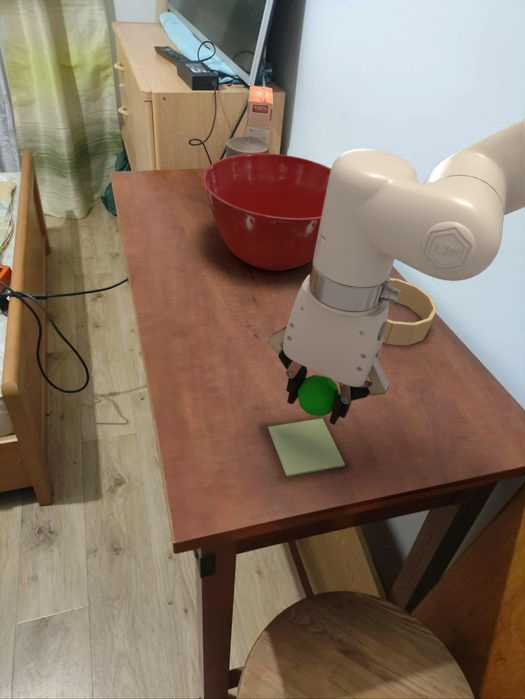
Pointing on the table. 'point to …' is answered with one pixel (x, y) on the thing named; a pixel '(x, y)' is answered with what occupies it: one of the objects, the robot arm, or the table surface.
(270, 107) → the cracker box
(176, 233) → the table surface
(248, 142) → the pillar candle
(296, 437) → the mat
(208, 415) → the table surface
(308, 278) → the robot arm
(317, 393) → the polyhedron
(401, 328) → the hollow cylinder
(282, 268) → the mixing bowl
